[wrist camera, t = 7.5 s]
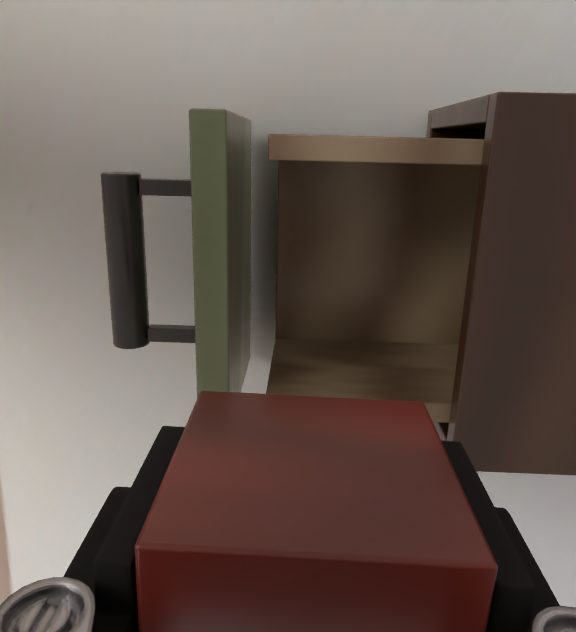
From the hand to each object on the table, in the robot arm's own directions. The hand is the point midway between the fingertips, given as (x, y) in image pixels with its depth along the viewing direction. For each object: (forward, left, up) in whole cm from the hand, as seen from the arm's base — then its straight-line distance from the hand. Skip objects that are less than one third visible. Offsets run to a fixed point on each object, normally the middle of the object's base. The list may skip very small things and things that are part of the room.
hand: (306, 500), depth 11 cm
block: (0, 0, 0) cm, 0 cm away
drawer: (0, +2, -16) cm, 17 cm away
